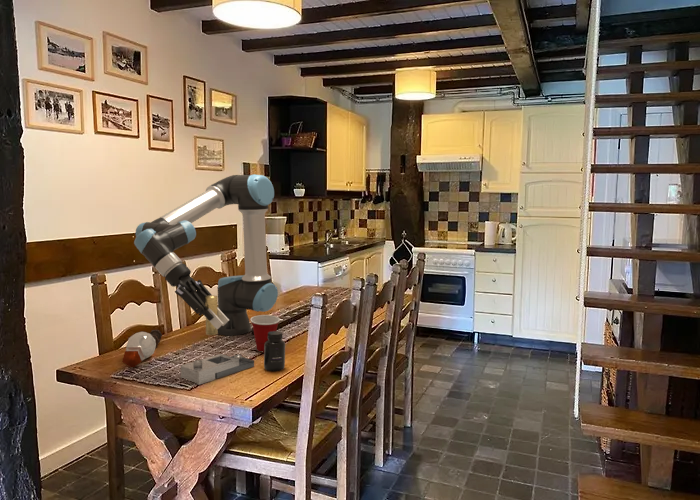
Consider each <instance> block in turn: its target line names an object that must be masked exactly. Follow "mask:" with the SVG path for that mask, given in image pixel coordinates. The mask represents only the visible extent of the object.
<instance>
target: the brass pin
mask: <svg viewBox="0 0 700 500" xmlns="http://www.w3.org/2000/svg"><path fill="white" fill-rule="evenodd" d="M205 300H206V307H207V308H208V309H209V308H210V309H211V310H212V311H213V312H214V313H215V314H216V315H217V307H218V304H217V302H218V295H215V294H214V295H213V294H211V295H210V296H206V297H205ZM208 309H207V310H208ZM217 317H218V315H217ZM205 335H206V336H215V335H219V334H218V329H216V328H215V327H214V326H213V325H212V324H211V322H210V321H209V320H208V319H207V318H206V317H205Z"/></svg>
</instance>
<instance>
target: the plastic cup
mask: <svg viewBox="0 0 700 500" xmlns="http://www.w3.org/2000/svg"><path fill="white" fill-rule="evenodd" d="M249 321H250V323H251V326H252V329H253V335H254V341H255V347H256V350H258V352H259V351H263V352H262V353H264V344H265V342H266V341H267V340H268V338H267V337H268V332H271V331H278V326H279V323H280V321H281V318H280V317H279V316H275V315H270V314H260V315H254V316H252V317H251V318H249Z"/></svg>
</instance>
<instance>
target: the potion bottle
mask: <svg viewBox="0 0 700 500" xmlns="http://www.w3.org/2000/svg"><path fill="white" fill-rule="evenodd" d="M155 347H156V341H155V339H154V337H153V336H152V335H151V334H150V333H149V332H146V331H139V332H136V333H134V334H132V335H131V336H130V337H128V339H127V343H126V348H125V351H124V354H123V356H122V361H121V363H123V364H124V365H126V366H128V367H130V368H131V367H133V368H135V367H137V366H138V365H140V364H141V363H142V362H143V361H144V360H146V359H147V358H149V357H151V356H152V355H154V354H155V350H156V348H157V347H156V348H155Z"/></svg>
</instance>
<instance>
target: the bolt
mask: <svg viewBox="0 0 700 500" xmlns="http://www.w3.org/2000/svg"><path fill="white" fill-rule="evenodd" d="M149 334H151V335H152V336H153V337H154V339H155V341H156V347H155V349H157V347H158V345H159V343H161V338H162V337H163V334H162V332H161V331H160V330H159V329H152V330H151V331H150V333H149Z"/></svg>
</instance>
